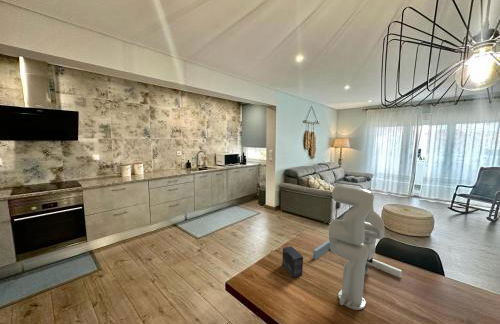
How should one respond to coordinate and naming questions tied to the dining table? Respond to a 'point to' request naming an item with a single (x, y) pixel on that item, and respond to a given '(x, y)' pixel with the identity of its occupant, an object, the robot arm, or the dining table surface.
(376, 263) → the fence
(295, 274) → the small box
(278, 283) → the dining table surface
